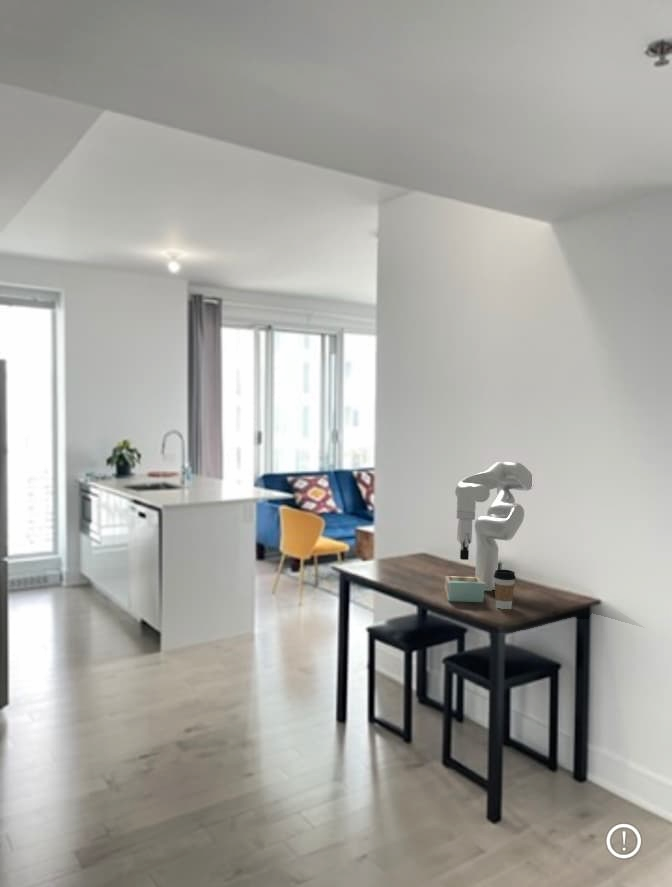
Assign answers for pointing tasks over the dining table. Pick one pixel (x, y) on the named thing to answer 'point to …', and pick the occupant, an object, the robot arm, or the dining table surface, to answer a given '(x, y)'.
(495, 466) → the robot arm
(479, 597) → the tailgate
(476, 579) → the crate
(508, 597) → the coffee cup
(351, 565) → the dining table surface
